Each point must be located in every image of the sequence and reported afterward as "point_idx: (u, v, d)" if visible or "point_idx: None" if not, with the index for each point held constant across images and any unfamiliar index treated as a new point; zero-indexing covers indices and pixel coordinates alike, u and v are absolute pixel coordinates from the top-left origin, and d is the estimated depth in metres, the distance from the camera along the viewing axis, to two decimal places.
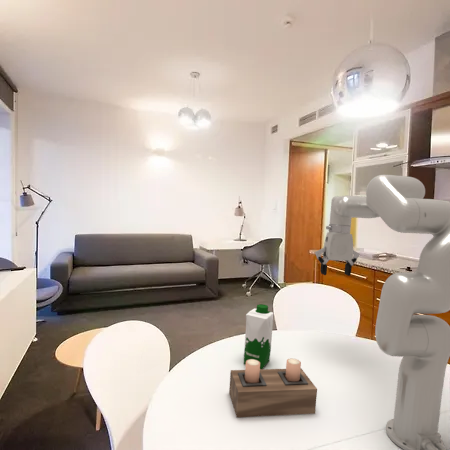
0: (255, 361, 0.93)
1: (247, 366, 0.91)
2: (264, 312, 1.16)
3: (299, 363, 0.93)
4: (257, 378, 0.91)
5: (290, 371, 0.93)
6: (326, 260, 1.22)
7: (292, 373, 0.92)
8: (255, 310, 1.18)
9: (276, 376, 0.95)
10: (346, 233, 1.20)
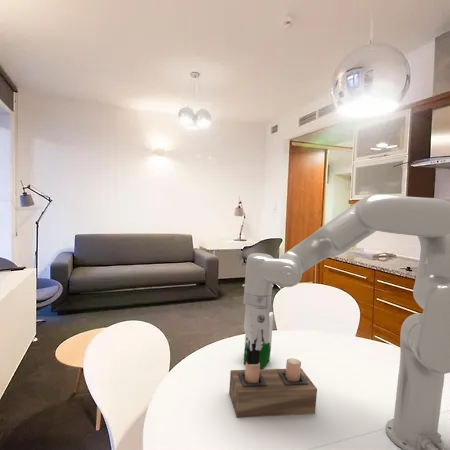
0: None
1: (247, 367, 0.91)
2: None
3: (299, 363, 0.93)
4: (257, 379, 0.91)
5: (290, 371, 0.93)
6: None
7: (292, 373, 0.92)
8: None
9: (276, 376, 0.95)
10: None
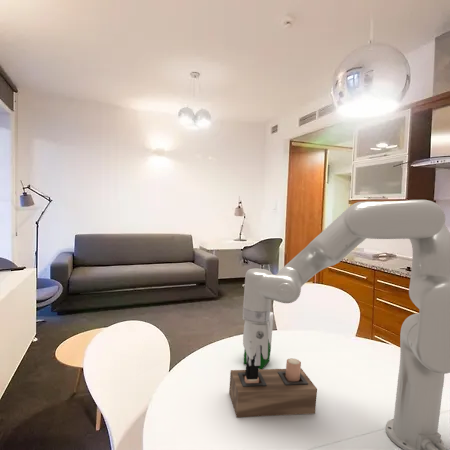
0: None
1: (246, 382, 0.91)
2: None
3: (299, 363, 0.93)
4: None
5: (290, 371, 0.93)
6: None
7: (292, 373, 0.92)
8: None
9: (276, 376, 0.95)
10: None
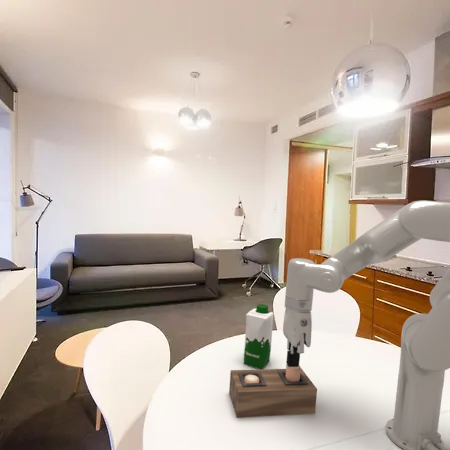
0: (254, 377, 0.93)
1: (246, 382, 0.91)
2: (264, 312, 1.16)
3: (299, 367, 0.93)
4: None
5: (290, 376, 0.93)
6: None
7: (291, 377, 0.93)
8: (255, 310, 1.18)
9: (276, 376, 0.95)
10: None
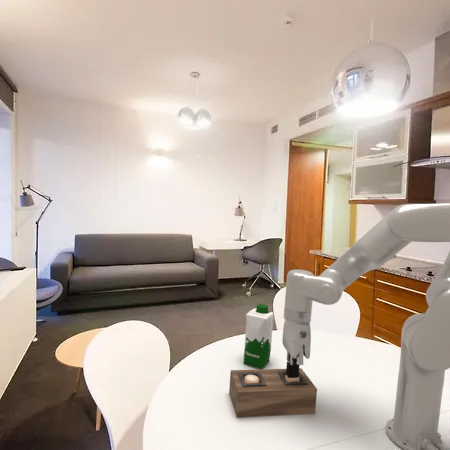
0: (254, 377, 0.93)
1: (246, 382, 0.91)
2: (264, 312, 1.16)
3: (298, 378, 0.94)
4: None
5: None
6: None
7: None
8: (255, 310, 1.18)
9: (276, 376, 0.95)
10: None
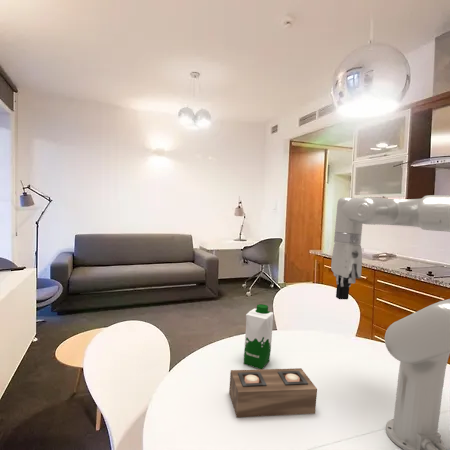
0: (254, 377, 0.93)
1: (246, 382, 0.91)
2: (264, 312, 1.16)
3: (298, 379, 0.94)
4: None
5: None
6: None
7: None
8: (255, 310, 1.18)
9: (276, 376, 0.95)
10: None
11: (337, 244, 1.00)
